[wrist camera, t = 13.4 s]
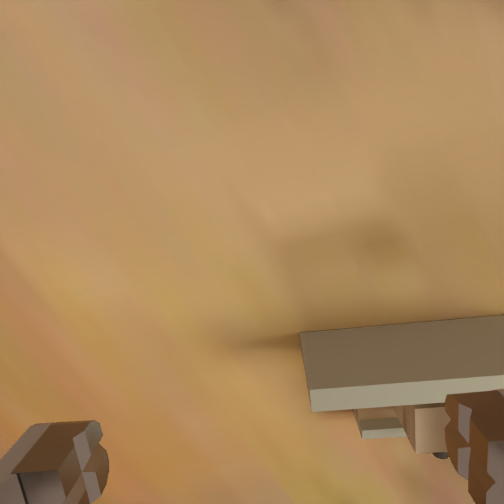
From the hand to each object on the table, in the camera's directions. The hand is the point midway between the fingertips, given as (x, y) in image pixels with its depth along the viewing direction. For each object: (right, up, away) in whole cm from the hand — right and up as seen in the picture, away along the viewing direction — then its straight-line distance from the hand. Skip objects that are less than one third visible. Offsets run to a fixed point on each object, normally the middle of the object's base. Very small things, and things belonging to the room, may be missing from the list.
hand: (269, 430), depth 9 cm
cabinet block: (+16, -9, +29) cm, 34 cm away
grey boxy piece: (+16, -8, +31) cm, 36 cm away
